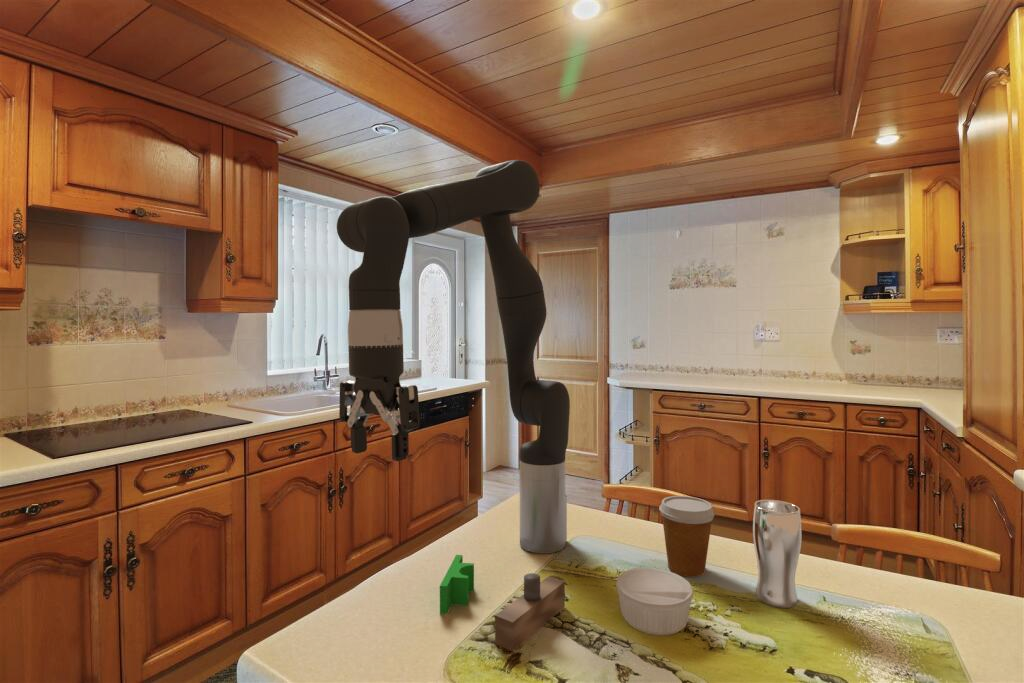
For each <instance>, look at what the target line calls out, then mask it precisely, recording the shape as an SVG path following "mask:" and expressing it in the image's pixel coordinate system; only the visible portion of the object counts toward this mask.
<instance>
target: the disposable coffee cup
mask: <svg viewBox="0 0 1024 683" xmlns="http://www.w3.org/2000/svg"><path fill="white" fill-rule="evenodd" d="M658 509H659V511H660V514H661V518H662V526H663V532H664V533H663V534H664V541H665V542H664V543H665V550H666V557H667V567H668V569H669V571H670V572H672V573H675V574H677V575H679V576H681V577H687V578H688V577H689V578H690V577H691V578H695V577H701V576H703V575H704V574H705V572H706V571H705V570H706V564H707V558H708V552H709V551H708V550H709V542H710V535H711V529H712V521H713V520H714V517H715V514H716V513H715V511H714V510H713V505H712V504H711V503H710V502H709V501H707V500H705V499H703V498H698V497H695V496H689V495H673V496H667V497H664V498H663V499H662V500H661V504H660V505H659V507H658Z"/></svg>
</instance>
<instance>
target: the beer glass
mask: <svg viewBox="0 0 1024 683" xmlns="http://www.w3.org/2000/svg"><path fill="white" fill-rule="evenodd" d="M802 534H803V533H802V519H801V508H800V507H799V506H797V505H795V504H794V503H791V502H787V501H783V500H779V499H777V500H776V499H759V500H756V501H755V502H754V510H753V520H752V537H753V545H754V546H753V547H754V552H755V558H756V564H757V574H758V576H757V583H756V588H755V592H754V593H755V596H757V597H756V598H757V600H759V599H760V600H761V601H760V600H759V601H760V602H762V603H763V604H766V605H767V606H771V607H773V608H774V607H775V608H781V609H791V608H794V607H796V606H797V605H798V603H799V602H798V599H799V598H798V595H797V589H796V575H797V574H796V573H797V568H798V565H799V558H800V556H801V555H800V554H801V548H802V537H803V536H802Z"/></svg>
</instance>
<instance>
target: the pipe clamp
mask: <svg viewBox="0 0 1024 683" xmlns="http://www.w3.org/2000/svg"><path fill="white" fill-rule="evenodd" d="M474 590H475V563H473V562H463V554H455V557H454V558H453V560H452V562H451V564H450V565H449V567H448V569H447V571H446V573H445V575H444V577H443V579H442V581H441V583H440V585H439V615H448V614H449V612H450V609H451V606H452V605H456V606H457V605H460V606H469V603H470V602H469V601H470V599H469V597H470V595H469V593H470V592H474Z"/></svg>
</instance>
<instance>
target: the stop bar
mask: <svg viewBox="0 0 1024 683" xmlns="http://www.w3.org/2000/svg"><path fill="white" fill-rule="evenodd" d="M565 586H566V582H565V581H564V580H561V579H558V578H555V577H552V576H547V577H545V578H544V579H543V580H541V575H539V574H537V573H526V574H525V575H523V594H522V595H521V596H519V597H518V598H517V599H516V600H514V601H513V602H511V603H510V604H508V605H506V606H505V607H504V608H503V609H502V610H500V611H499V612H498V613H496V614H495V615H494V644H495V645H497V646H498V647H501V648H503V649H506V650H508V651H511V652H514V651H515V650H516V649H518V648H519V647H520V646H521V645H522V644H523V643H525V642H526V641H527V640H528V639H529V638H530V637H532V636H533V635H534V634H535V633H536V632H537V631H538V630H539V629H541V628H542V627H544V625H545V624H547V623H548V622H549V621H551V619H553V618H554V616H556V615H557V614H558V613H559V612H561V611H562V610H563V609H564V608H565V607H566V606H565V605H566V602H565V601H566V599H565V598H566V597H565V596H566V594H565V593H566V587H565Z"/></svg>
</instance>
